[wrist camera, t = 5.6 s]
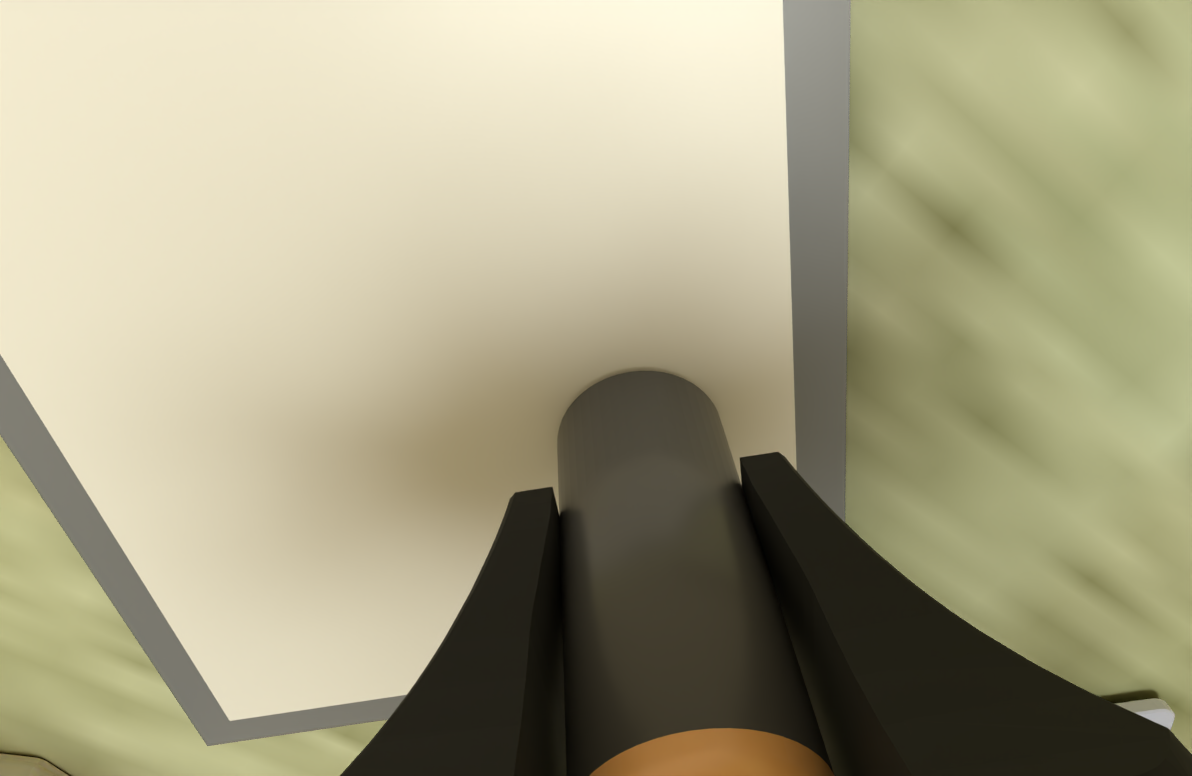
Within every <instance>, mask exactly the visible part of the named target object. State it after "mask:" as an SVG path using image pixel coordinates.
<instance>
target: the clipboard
mask: <svg viewBox="0 0 1192 776" xmlns="http://www.w3.org/2000/svg"><path fill="white" fill-rule="evenodd" d="M849 95H850V0H0V435H1V437H2V438H3V440H4V441H5V443H6V444H7V446H8V447H9V449H10V450H11V452H12V453H13V455H14V456H15V458H16V459H17V461H18V462H19V464H20V465H21V467H22V468H23V470H24V471H25V473H26V474H27V476H28V477H29V479H30V480H31V482H32V483H33V485H34V486H35V488H36V489H37V491H38V492H39V494H40V495H41V497H42V498H43V500H44V501H45V503H46V504H47V506H48V507H49V509H50V510H51V512H52V513H53V515H54V516H55V518H56V519H57V521H58V522H59V524H60V525H61V527H62V528H63V530H64V531H65V533H66V534H67V536H68V537H69V539H70V540H71V542H72V543H73V545H74V546H75V548H76V549H77V551H78V552H79V554H80V555H81V557H82V558H83V560H84V561H85V563H86V564H87V566H88V567H89V569H90V570H91V572H92V573H93V575H94V576H95V578H96V579H97V581H98V582H99V584H100V585H101V587H102V588H103V590H104V591H105V593H106V594H107V596H108V597H109V599H110V600H111V602H112V603H113V605H114V606H115V608H116V609H117V611H118V612H119V614H120V615H121V617H122V618H123V620H124V621H125V623H126V624H127V626H128V627H129V629H130V630H131V632H132V633H133V635H134V636H135V638H136V639H137V641H138V642H139V644H140V645H141V647H142V648H143V650H144V651H145V653H146V654H147V656H148V657H149V659H150V661H151V662H152V664H153V665H154V667H155V668H156V670H157V671H158V673H159V674H160V676H161V677H162V679H163V680H164V682H165V683H166V685H167V686H168V688H169V689H170V691H171V692H172V694H173V695H174V697H175V698H176V700H177V701H178V703H179V704H180V706H181V707H182V709H183V710H184V712H185V713H186V715H187V716H188V718H189V719H190V721H191V722H192V724H193V725H194V727H195V728H196V730H197V731H198V733H199V734H200V736H201V737H202V739H203V740H204V742H205V743H206V745H207V746H211V745H218V744H224V743H231V742H238V741H245V740H251V739H258V738H265V737H272V736H279V735H285V734H292V733H299V732H306V731H313V730H319V729H326V728H333V727H340V726H346V725H353V724H360V723H367V722H374V721H380V720H387V719H389V718H390V716H391V715H392V714H393V712H394V711H395V710H396V708H397V707H398V706H399V704H400V703H401V702H402V700H403V699H404V698H405V696H406V695H407V694H408V692H409V691H410V690H411V688H412V687H413V686H414V684H415V683H416V681H417V680H418V678H419V677H420V675H421V674H422V672H423V671H424V669H425V668H426V667H427V665H428V664H429V662H430V660H431V659H432V657H433V656H434V654H435V653H436V651H437V649H438V648H439V646H440V645H441V643H442V641H443V640H444V638H445V636H446V635H447V633H448V631H449V629H450V628H451V626H452V624H453V622H454V620H455V619H456V617H457V615H458V613H459V611H460V610H461V608H462V606H463V604H464V602H465V601H466V599H467V597H468V595H469V593H470V591H471V589H472V587H473V585H474V583H475V581H476V579H477V577H478V575H479V573H480V571H481V568H482V566H483V564H484V562H485V560H486V558H487V556H488V554H489V551H490V549H491V547H492V544H493V542H494V540H495V537H496V535H497V533H498V530H499V528H500V525H501V522H502V520H503V517H504V514H505V512H506V509H507V506H508V503H509V500H510V498H511V497H512V496H513V494H514V493H515V492H520V491H527V490H533V489H540V488H546V487H553V491H554V495H555V499H556V504H557V508H558V512H559V491H558V457H557V436H558V431H559V427H560V424H561V421H562V418H563V416H564V415H565V413H566V411H567V409H568V408H569V407H570V405H571V404H572V403H573V401H574V400H575V399H576V398H577V397H578V396H579V395H580V394H582V393H583V392H584V391H585V390H587V389H588V388H589V387H591V386H593V385H594V384H596V383H597V382H600V381H602V380H604V379H606V378H608V377H611V376H614V375H617V374H621V373H626V372H632V371H658V372H665V373H669V374H673V375H676V376H678V377H681V378H684V379H685V380H687V381H689V382H691V383H693V384H694V385H696V386H697V387H698V388H700V389H701V390H702V391H703V392H704V393H705V394H706V395H707V396H708V397H709V398H710V400H711V401H712V402H713V404H714V405H715V407H716V409H717V411H718V414H719V417H720V420H721V423H722V426H723V429H724V432H725V435H726V438H727V441H728V445H729V448H730V451H731V454H732V457H733V460H734V463H735V466H736V470H737V473H738V476H739V479H740V482H741V469H740V457H746V456H753V455H759V454H766V453H772V452H779V453H781V454H782V455H783V456H785V457H786V458H787V460H788V461H789V462H790V464H791V465H792V466H793V467H794V468H795V470H796V471H797V472H798V473H799V474H800V475H801V477H802V478H803V479H804V480H805V481H806V482H807V483H808V485H809V486H810V487H811V488H812V489H813V490H814V491H815V492H816V493H817V494H818V495H819V497H820V498H821V499H822V500H823V501H824V502H825V503H826V504H827V505H828V506H829V507H830V508H831V509H832V510H833V511H834V512H835V513H836V514H837V515H838V516H839V517H840V518H841V519H842V520H843V521H844V522H845V476H846V381H847V286H848V190H849ZM741 485H742V483H741Z"/></svg>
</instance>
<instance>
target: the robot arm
mask: <svg viewBox="0 0 1192 776" xmlns="http://www.w3.org/2000/svg"><path fill="white" fill-rule="evenodd" d="M740 469H741V483H742V489H743V492H744V495H745V498H746V501H747V504H748V507H749V511H750V514H751V517H752V520H753V523H754V526H755V529H756V532H757V535H758V538H759V542H760V545H761V548H762V551H763V554H764V557H765V560H766V563H767V566H768V569H769V573H770V576H771V579H772V582H773V585H774V588H775V591H776V594H777V597H778V601H779V604H780V607H781V610H782V613H783V616H784V619H785V622H786V626H787V629H788V632H789V635H790V638H791V641H792V644H793V647H794V651H795V654H796V657H797V660H798V663H799V666H800V669H801V672H802V675H803V679H804V682H805V685H806V688H807V691H808V694H809V697H810V700H811V704H812V707H813V710H814V713H815V716H816V719H817V722H818V725H819V729H820V732H821V735H822V738H823V741H824V744H825V747H826V750H827V753H828V757H829V760H830V763H831V766H832V769H833V772H834V775H835V776H1192V754H1191V753H1190V752H1189V751H1188V750H1187V749H1186V748H1185V747H1184V746H1183V744H1182V743H1181V742H1180V741H1179V740H1178V739H1177V738H1176V737H1175V736H1174V734H1173V733H1172V732H1171V731H1170V730H1171V727H1172V724H1173V722H1174V719H1175V714H1174V712H1173V711H1172V710H1171V708H1170V707H1169V706H1168V704H1167V703H1166V702H1165V701H1164V700H1161V699H1157V698H1150V699H1143V700H1136V701H1129V702H1122V703H1115V704H1114V703H1112V702H1109V701H1107V700H1105V699H1103V698H1101V697H1098V696H1096V695H1094V694H1092V693H1090V692H1088V691H1086V690H1084V689H1082V688H1080V687H1078V686H1076V685H1074V684H1072V683H1070V682H1068V681H1066V680H1064V679H1062V678H1061V677H1059V676H1057V675H1055V674H1053V673H1051V672H1049V671H1047V670H1045V669H1043V668H1041V667H1040V666H1038V665H1036V664H1034V663H1032V662H1031V661H1029V660H1027V659H1026V658H1024V657H1022V656H1021V655H1019V654H1017V653H1016V652H1014V651H1012V650H1011V649H1009V648H1007V647H1006V646H1004V645H1002V644H1001V643H999V642H997V641H996V640H994V639H992V638H991V637H989V636H988V635H986V634H984V633H983V632H981V631H979V630H978V629H976V628H975V627H973V626H972V625H970V624H969V623H967V622H966V621H964V620H963V619H962V618H960V617H959V616H957V615H956V614H954V613H953V612H951V611H950V610H948V609H947V608H946V607H944V606H943V605H942V604H940V603H939V602H937V601H936V600H935V599H933V598H932V597H931V596H929V595H928V594H927V593H925V592H924V591H923V590H921V589H920V588H919V587H918V586H916V585H915V584H914V583H912V582H911V581H910V580H909V579H907V578H906V577H905V576H904V575H903V574H901V573H900V572H899V571H898V570H897V569H895V568H894V567H893V566H892V565H891V564H890V563H888V562H887V561H886V560H885V559H884V558H883V557H881V556H880V555H879V554H878V553H877V552H876V551H875V550H873V549H872V548H871V547H870V546H869V545H868V544H867V543H866V542H865V541H864V540H862V539H861V538H860V537H859V536H858V535H857V534H856V533H855V532H854V531H853V530H852V529H851V528H850V527H849V526H848V525H847V524H846V523H845V522H844V521H843V520H842V519H841V518H840V517H839V516H838V515H837V514H836V513H835V512H834V511H833V510H832V509H831V508H830V507H829V506H828V505H827V504H826V503H825V502H824V501H823V500H822V499H821V498H820V497H819V495H818V494H817V493H816V492H815V491H814V490H813V489H812V488H811V487H810V486H809V485H808V483H807V482H806V481H805V480H804V479H803V478H802V477H801V475H800V474H799V473H798V472H797V471H796V470H795V468H794V467H793V466H792V465H791V464H790V462H789V461H788V460H787V458H786V457H785V456H783V455H782V454H781V453H779V452H772V453H766V454H759V455H753V456H746V457H740ZM340 776H567V767H566V733H565V698H564V664H563V629H562V595H561V550H560V517H559V512H558V508H557V504H556V499H555V495H554V491H553V487H546V488H540V489H533V490H527V491H520V492H515V493H514V494H513V496H512V497H511V498H510V500H509V503H508V506H507V509H506V512H505V514H504V517H503V520H502V522H501V525H500V528H499V530H498V533H497V535H496V537H495V540H494V542H493V544H492V547H491V549H490V551H489V554H488V556H487V558H486V560H485V562H484V564H483V566H482V568H481V571H480V573H479V575H478V577H477V579H476V581H475V583H474V585H473V587H472V589H471V591H470V593H469V595H468V597H467V599H466V601H465V602H464V604H463V606H462V608H461V610H460V611H459V613H458V615H457V617H456V619H455V620H454V622H453V624H452V626H451V628H450V629H449V631H448V633H447V635H446V636H445V638H444V640H443V641H442V643H441V645H440V646H439V648H438V649H437V651H436V653H435V654H434V656H433V657H432V659H431V660H430V662H429V664H428V665H427V667H426V668H425V669H424V671H423V672H422V674H421V675H420V677H419V678H418V680H417V681H416V683H415V684H414V686H413V687H412V688H411V690H410V691H409V692H408V694H407V695H406V696H405V698H404V699H403V700H402V702H401V703H400V704H399V706H398V707H397V708H396V710H395V711H394V712H393V714H392V715H391V716H390V718H389V719H388V720H387V722H386V723H385V724H384V725H383V727H382V728H381V729H380V730H379V732H378V733H377V734H376V735H375V737H374V738H373V739H372V740H371V741H370V743H369V744H368V745H367V746H366V747H365V748H364V749H363V751H362V752H361V753H360V754H359V755H358V756H357V757H356V758H355V760H354V761H353V762H352V763H351V764H350V765H349V766H348V767H347V768H346V770H345V771H344V772H343V773H342V774H341V775H340Z"/></svg>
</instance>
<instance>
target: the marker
mask: <svg viewBox="0 0 1192 776" xmlns="http://www.w3.org/2000/svg"><path fill="white" fill-rule="evenodd" d="M557 457H558V491H559V517H560V550H561V595H562V629H563V664H564V698H565V733H566V767H567V776H835V775H834V772H833V769H832V766H831V763H830V760H829V757H828V753H827V750H826V747H825V744H824V741H823V738H822V735H821V732H820V729H819V725H818V722H817V719H816V716H815V713H814V710H813V707H812V704H811V700H810V697H809V694H808V691H807V688H806V685H805V682H804V679H803V675H802V672H801V669H800V666H799V663H798V660H797V657H796V654H795V651H794V647H793V644H792V641H791V638H790V635H789V632H788V629H787V626H786V622H785V619H784V616H783V613H782V610H781V607H780V604H779V601H778V597H777V594H776V591H775V588H774V585H773V582H772V579H771V576H770V573H769V569H768V566H767V563H766V560H765V557H764V554H763V551H762V548H761V545H760V542H759V538H758V535H757V532H756V529H755V526H754V523H753V520H752V517H751V514H750V511H749V507H748V504H747V501H746V498H745V495H744V492H743V489H742V485H741V482H740V479H739V476H738V473H737V470H736V466H735V463H734V460H733V457H732V454H731V451H730V448H729V445H728V441H727V438H726V435H725V432H724V429H723V426H722V423H721V420H720V417H719V414H718V411H717V409H716V407H715V405H714V404H713V402H712V401H711V400H710V398H709V397H708V396H707V395H706V394H705V393H704V392H703V391H702V390H701V389H700V388H698V387H697V386H696V385H694V384H693V383H691V382H689V381H687V380H685V379H684V378H681V377H678V376H676V375H673V374H669V373H665V372H658V371H632V372H626V373H621V374H617V375H614V376H611V377H608V378H606V379H604V380H602V381H600V382H597V383H596V384H594V385H593V386H591V387H589V388H588V389H587V390H585V391H584V392H583V393H582V394H580V395H579V396H578V397H577V398H576V399H575V400H574V401H573V403H572V404H571V405H570V407H569V408H568V409H567V411H566V413H565V415H564V416H563V418H562V421H561V424H560V427H559V431H558V436H557Z"/></svg>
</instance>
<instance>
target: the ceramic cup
mask: <svg viewBox="0 0 1192 776" xmlns="http://www.w3.org/2000/svg"><path fill="white" fill-rule="evenodd" d="M0 776H69V775H67V774H66V773H64V772H62V771H61V770H59V769H58V768H56V767H55V766H53V765H51V764H50V763H48V762H47V761H45V760H43V759H40V758H35V757H27V756H19V755H10V754H2V753H0Z"/></svg>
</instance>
